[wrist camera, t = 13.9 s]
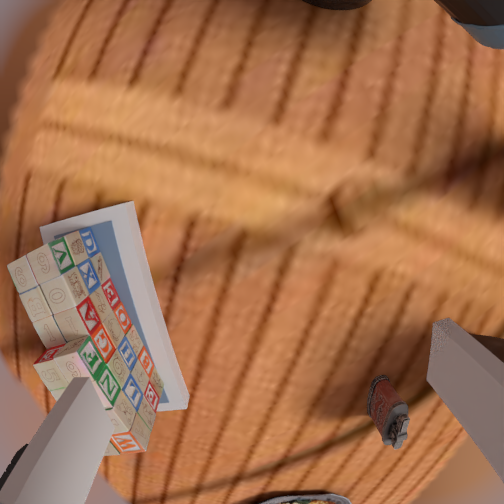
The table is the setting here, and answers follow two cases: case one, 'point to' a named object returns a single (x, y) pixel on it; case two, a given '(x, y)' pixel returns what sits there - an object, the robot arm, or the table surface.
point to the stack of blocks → (89, 335)
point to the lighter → (388, 412)
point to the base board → (131, 288)
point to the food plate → (308, 499)
